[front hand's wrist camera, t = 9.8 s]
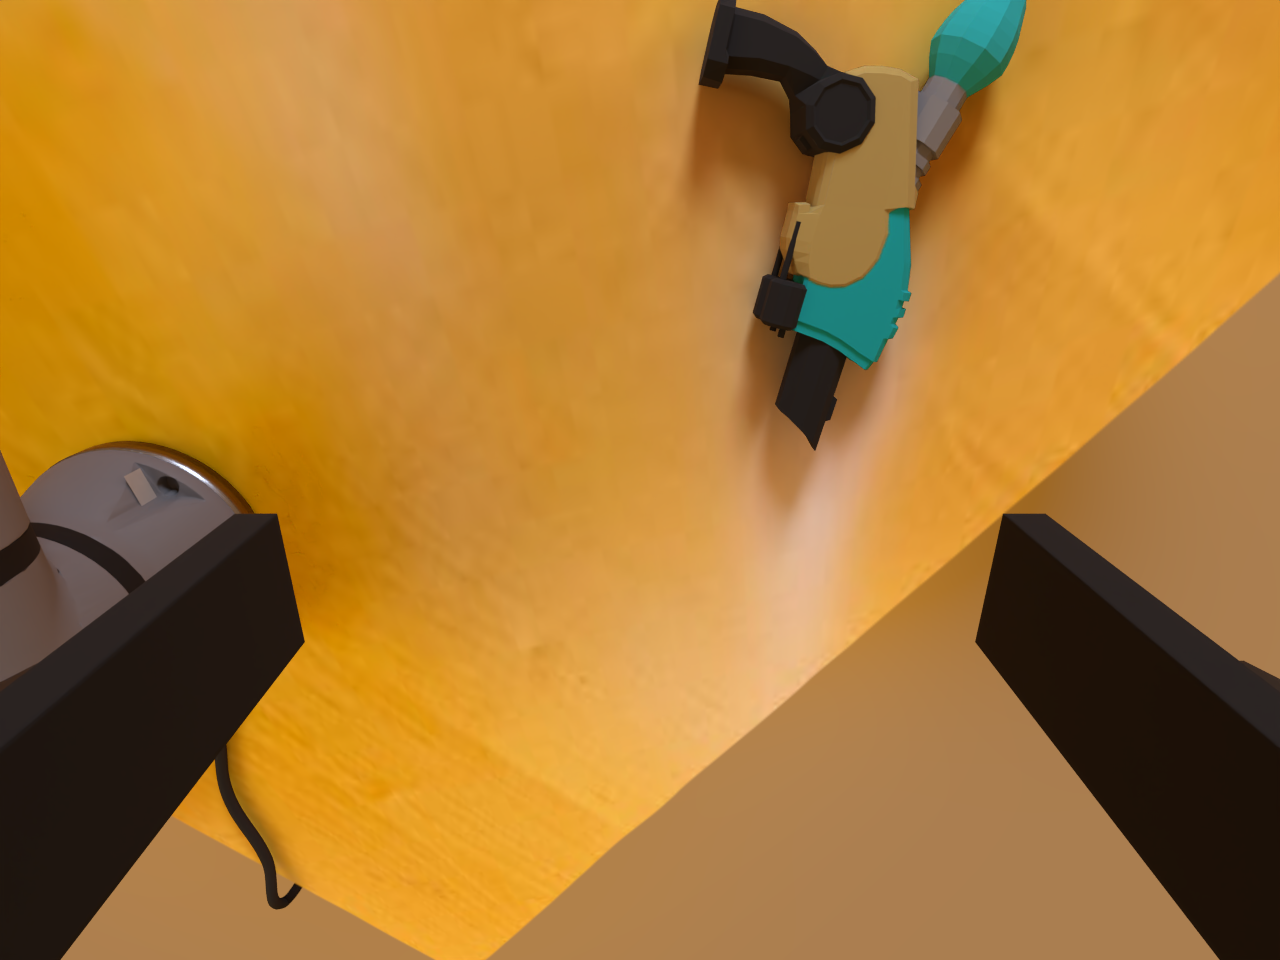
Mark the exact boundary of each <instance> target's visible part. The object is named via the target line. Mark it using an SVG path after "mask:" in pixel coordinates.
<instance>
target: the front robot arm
mask: <svg viewBox="0 0 1280 960" xmlns="http://www.w3.org/2000/svg"><path fill="white" fill-rule="evenodd" d="M304 642H305V641H304V636H303V632H302V627H301V623H300V618H299V613H298V609H297V604H296V599H295V595H294V590H293V586H292V581H291V576H290V572H289V567H288V562H287V558H286V553H285V549H284V544H283V539H282V535H281V530H280V526H279V521H278V516H277V514H254V512H253V511H252V509H251V507H250V506H249V505H248V503H247V502H246V501H245V499H244V498H243V497H242V496H241V495H240V493H239V492H238V491H237V490H236V489H235V488H234V487H233V486H232V485H231V484H230V483H229V482H228V481H226V480H225V479H224V478H223V477H222V476H220V475H219V474H218V473H217V472H215V471H214V470H212V469H211V468H210V467H208V466H206V465H205V464H203V463H201V462H200V461H198V460H196V459H194V458H192V457H190V456H188V455H186V454H184V453H181V452H179V451H176V450H173V449H170V448H167V447H164V446H160V445H156V444H151V443H144V442H133V441H121V442H111V443H104V444H100V445H96V446H93V447H91V448H88V449H85V450H83V451H81V452H78V453H76V454H74V455H72V456H69V457H67V458H65V459H63V460H61V461H59V462H58V463H56V464H55V465H53V466H52V467H50V468H49V469H48V470H47V471H46V472H44V473H43V474H42V475H41V476H40V477H39V478H38V479H37V480H36V481H35V482H34V483H33V484H32V485H31V486H30V487H29V488H28V489H27V491H26V492H25V493H24V494H23V495H22V496H21V497H20V496H19V494H18V492H17V489H16V487H15V484H14V482H13V480H12V477H11V475H10V473H9V470H8V468H7V465H6V463H5V461H4V458H3V456H2V453H1V451H0V960H61V958H62V957H63V956H64V954H65V953H66V952H67V950H68V949H69V948H70V947H71V945H72V944H73V943H74V941H75V940H76V939H77V937H78V936H79V935H80V934H81V932H82V931H83V930H84V928H85V927H86V926H87V924H88V923H89V922H90V921H91V919H92V918H93V917H94V915H95V914H96V913H97V911H98V910H99V909H100V908H101V906H102V905H103V904H104V902H105V901H106V900H107V898H108V897H109V896H110V895H111V893H112V892H113V891H114V889H115V888H116V887H117V885H118V884H119V883H120V882H121V880H122V879H123V878H124V876H125V875H126V874H127V872H128V871H129V870H130V869H131V867H132V866H133V865H134V863H135V862H136V861H137V859H138V858H139V857H140V856H141V854H142V853H143V852H144V850H145V849H146V848H147V846H148V845H149V844H150V842H151V841H152V840H153V839H154V837H155V836H156V835H157V833H158V832H159V831H160V829H161V828H162V827H163V826H164V824H165V823H166V822H167V820H168V819H169V818H170V817H171V815H172V814H173V813H174V811H175V810H176V809H177V807H178V806H179V805H180V804H181V802H182V801H183V800H184V798H185V797H186V796H187V794H188V793H189V792H190V791H191V789H192V788H193V787H194V785H195V784H196V783H197V781H198V780H199V779H200V777H201V776H202V775H203V774H204V772H205V771H206V770H207V768H208V767H209V766H210V764H211V763H212V762H213V761H214V759H215V766H216V775H217V781H218V786H219V789H220V793H221V796H222V798H223V801H224V803H225V805H226V807H227V809H228V811H229V813H230V815H231V816H232V818H233V820H234V821H235V823H236V824H237V826H238V827H239V828H240V830H241V831H242V833H243V834H244V835H245V837H246V838H247V839H248V841H249V842H250V844H251V845H252V847H253V848H254V850H255V852H256V853H257V855H258V857H259V859H260V861H261V863H262V865H263V868H264V873H265V881H266V894H267V901H268V904H269V905H270V906H271V907H272V908H273V909H282V908H284V907H286V906H288V905H289V904H290V903H291V902H292V901H293V900H294V899H295V897H296V896H297V895H298V893H299V892H300V890H301V889H302V887H301V886H299V885H298V884H296V883H294V884H293V886H292V887H291V889H290V890H289V892H288V893H287V894H286V895H285V896H284V897H282V898H279V896H278V893H277V879H276V870H275V864H274V861H273V858H272V855H271V853H270V851H269V849H268V847H267V845H266V844H265V842H264V840H263V839H262V837H261V836H260V834H259V833H258V831H257V830H256V828H255V827H254V826H253V824H252V823H251V821H250V820H249V819H248V817H247V816H246V814H245V813H244V811H243V809H242V808H241V806H240V804H239V802H238V800H237V798H236V796H235V794H234V791H233V788H232V785H231V782H230V777H229V772H228V762H227V748H226V744H227V742H228V741H229V740H230V738H231V737H232V736H233V735H234V733H235V732H236V731H237V729H238V728H239V727H240V725H241V724H242V723H243V722H244V720H245V719H246V718H247V716H248V715H249V714H250V712H251V711H252V710H253V709H254V707H255V706H256V705H257V703H258V702H259V701H260V699H261V698H262V697H263V696H264V694H265V693H266V692H267V690H268V689H269V688H270V686H271V685H272V684H273V683H274V681H275V680H276V679H277V677H278V676H279V675H280V673H281V672H282V671H283V670H284V668H285V667H286V666H287V664H288V663H289V662H290V660H291V659H292V658H293V657H294V655H295V654H296V653H297V651H298V650H299V649H300V647H301V646H302V645H303V644H304ZM975 642H976V643H977V645H978V646H979V647H980V649H981V650H982V651H983V653H984V654H985V655H986V657H987V658H988V659H989V660H990V662H991V663H992V664H993V666H994V667H995V668H996V670H997V671H998V672H999V673H1000V675H1001V676H1002V677H1003V679H1004V680H1005V681H1006V683H1007V684H1008V685H1009V686H1010V688H1011V689H1012V690H1013V692H1014V693H1015V694H1016V696H1017V697H1018V698H1019V699H1020V701H1021V702H1022V703H1023V705H1024V706H1025V707H1026V709H1027V710H1028V711H1029V712H1030V714H1031V715H1032V716H1033V718H1034V719H1035V720H1036V722H1037V723H1038V724H1039V725H1040V727H1041V728H1042V729H1043V731H1044V732H1045V733H1046V735H1047V736H1048V737H1049V738H1050V740H1051V741H1052V742H1053V744H1054V745H1055V746H1056V748H1057V749H1058V750H1059V751H1060V753H1061V754H1062V755H1063V757H1064V758H1065V759H1066V760H1067V762H1068V763H1069V764H1070V766H1071V767H1072V768H1073V770H1074V771H1075V772H1076V774H1077V775H1078V776H1079V777H1080V779H1081V780H1082V781H1083V783H1084V784H1085V785H1086V787H1087V788H1088V789H1089V791H1090V792H1091V793H1092V794H1093V796H1094V797H1095V798H1096V800H1097V801H1098V802H1099V804H1100V805H1101V806H1102V807H1103V809H1104V810H1105V811H1106V813H1107V814H1108V815H1109V817H1110V818H1111V819H1112V820H1113V822H1114V823H1115V824H1116V826H1117V827H1118V828H1119V829H1120V831H1121V832H1122V833H1123V835H1124V836H1125V837H1126V839H1127V840H1128V841H1129V843H1130V844H1131V845H1132V846H1133V848H1134V849H1135V850H1136V852H1137V853H1138V854H1139V856H1140V857H1141V858H1142V859H1143V861H1144V862H1145V863H1146V865H1147V866H1148V867H1149V869H1150V870H1151V871H1152V872H1153V874H1154V875H1155V876H1156V878H1157V879H1158V880H1159V882H1160V883H1161V884H1162V885H1163V887H1164V888H1165V889H1166V891H1167V892H1168V893H1169V895H1170V896H1171V897H1172V898H1173V900H1174V901H1175V902H1176V904H1177V905H1178V906H1179V908H1180V909H1181V910H1182V911H1183V913H1184V914H1185V915H1186V917H1187V918H1188V919H1189V921H1190V922H1191V923H1192V924H1193V926H1194V927H1195V928H1196V930H1197V931H1198V932H1199V934H1200V935H1201V936H1202V937H1203V939H1204V940H1205V941H1206V943H1207V944H1208V945H1209V947H1210V948H1211V949H1212V950H1213V952H1214V953H1215V954H1216V956H1217V957H1218V958H1219V959H1220V960H1280V679H1279V678H1277V677H1275V676H1273V675H1271V674H1269V673H1267V672H1265V671H1263V670H1261V669H1259V668H1257V667H1255V666H1253V665H1251V664H1249V663H1247V662H1245V661H1239V660H1237V659H1236V658H1235V657H1233V656H1232V655H1231V654H1229V653H1228V652H1227V651H1225V650H1224V649H1223V648H1221V647H1220V646H1219V645H1218V644H1216V643H1215V642H1214V641H1212V640H1211V639H1210V638H1208V637H1207V636H1206V635H1204V634H1203V633H1202V632H1200V631H1199V630H1198V629H1196V628H1195V627H1194V626H1192V625H1191V624H1190V623H1189V622H1187V621H1186V620H1185V619H1183V618H1182V617H1181V616H1179V615H1178V614H1177V613H1175V612H1174V611H1173V610H1171V609H1170V608H1169V607H1167V606H1166V605H1165V604H1164V603H1162V602H1161V601H1160V600H1158V599H1157V598H1156V597H1154V596H1153V595H1152V594H1150V593H1149V592H1148V591H1146V590H1145V589H1144V588H1142V587H1141V586H1140V585H1139V584H1137V583H1136V582H1135V581H1133V580H1132V579H1131V578H1129V577H1128V576H1127V575H1125V574H1124V573H1123V572H1121V571H1120V570H1119V569H1117V568H1116V567H1115V566H1113V565H1112V564H1111V563H1110V562H1108V561H1107V560H1106V559H1104V558H1103V557H1102V556H1100V555H1099V554H1098V553H1096V552H1095V551H1094V550H1092V549H1091V548H1090V547H1088V546H1087V545H1086V544H1085V543H1083V542H1082V541H1081V540H1079V539H1078V538H1077V537H1075V536H1074V535H1073V534H1071V533H1070V532H1069V531H1067V530H1066V529H1065V528H1063V527H1062V526H1061V525H1060V524H1058V523H1057V522H1056V521H1054V520H1053V519H1052V518H1050V517H1049V516H1048V515H1046V514H1003V516H1002V521H1001V526H1000V530H999V535H998V539H997V544H996V549H995V553H994V558H993V562H992V567H991V572H990V576H989V581H988V586H987V590H986V595H985V599H984V604H983V609H982V613H981V618H980V623H979V627H978V632H977V637H976V641H975Z"/></svg>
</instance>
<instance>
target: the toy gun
mask: <svg viewBox="0 0 1280 960" xmlns="http://www.w3.org/2000/svg"><path fill="white" fill-rule="evenodd" d="M1025 10H1026V0H965V1H964V2H963V3H961V4H960V5H959V6H958V7H957V8H956V9H955V10H954V11H953V12H952V13H951V14H950V15H949V16H948V18H947V19H946V20H945V21H944V22H943V24H942V25H941V26H940V28H939V29H938V31H937V32H936V34H935V35H934V37H933V39H932V40H931V47H930V55H929V79H928V81H927V82H926V84H925V86H924V87H923V89H922V91H921V92H920V91H918V82H919V79H917V78H916V77H914V76H912V75H910V74H908V73H907V72H905V71H903V70H901V69H897V68H891V67H885V66H862V67H859V68H856V69H853V70H850V71H847V72H845V73H843V72H840V71H838V70H835V69H833V68H831V67H829V66H827V65H826V64H825V62H824V61H823V60H822V58H821V57H820V56H819V54H818V53H817V52H816V50H815V49H814V48H813V47H812V46H811V45H810V44H809V43H808V42H807V41H806V40H805V39H804V38H803V37H802V36H801V35H800V34H799V33H798V32H796V31H794V30H792V29H790V28H789V27H787V26H785V25H783V24H781V23H779V22H777V21H775V20H774V19H772V18H770V17H768V16H766V15H764V14H760V13H756V12H753V11H749V10H745V9H741V8H737V7H736V0H718V3H717V5H716V9H715V13H714V17H713V21H712V25H711V29H710V34H709V38H708V43H707V47H706V52H705V56H704V60H703V65H702V69H701V74H700V80H699V85H703V86H708V87H713V88H719V86H720V85H721V83H722V81H723V78H724V74H733V75H748V76H755V77H760V78H765V79H770V80H775V81H779V82H780V83H781V85H782V87H783V89H784V91H785V93H786V95H787V97H788V99H789V104H790V129H791V139H792V140H793V141H794V143H795V144H796V146H797V147H798V148H799V150H800V151H801V152H802V154H804V155H808V156H812V157H814V161H813V166H812V171H811V175H810V180H809V185H808V190H807V195H806V200H805V202H792V203H788V209H787V213H786V217H785V221H784V224H783V228H782V232H781V235H780V247H779V250H778V254H777V257H776V261H775V265H774V268H773V272H772V275H769V274H767V275H765V276H763V278H762V281H761V285H760V289H759V292H758V296H757V299H756V303H755V307H754V310H753V314H754V315H755V316H756V318H758V319H760V320H761V321H762V322H763V323H764V324H765V325H768V326H771V327H770V330H772V331H776V328H778V329H779V332H778V337H781V338H784V335H785V331H786V330H794V331H797V334H796V337H795V341H794V344H793V347H792V350H791V354H790V357H789V360H788V364H787V367H786V370H785V374H784V377H783V380H782V383H781V387H780V390H779V393H778V397H777V400H776V403H775V405H776V406H777V407H778V409H779V410H780V411H781V412H782V413H783V414H785V415H786V416H787V417H788V418H789V419H790V420H791V421H792V422H793V423H794V424H795V425H796V426H797V427H798V428H799V429H800V430H801V431H802V432H803V433H804V434H805V435H806V437H807V439H808V441H809V443H810V445H811V446H812V448H813V449H814V450H816V447H817V444H818V441H819V438H820V435H821V432H822V429H823V426H824V423H825V421H828V420H830V419H831V416H832V413H833V410H834V407H835V404H836V401H837V399H836V398H835V397H834V393H835V390H836V387H837V384H838V381H839V378H840V375H841V372H842V369H843V366H844V363H845V360H846V357H847V358H848V359H850V360H852V361H854V362H855V363H857V364H858V365H859V366H860V367H862V368H863V369H864V370H867V369H868V368H869V367H870V366H871V364H872V363H873V362H877V361H878V359H879V357H880V355H881V352H882V350H883V348H884V346H885V344H886V342H887V340H888V339H892V338H893V337H894V335H895V333H896V331H897V330H898V326H897V325H896V324H895V323H896V321H897V319H898V318H902V317H903V316H904V313H905V310H906V309H905V308H902V306H903V303H904V301H909V299H910V296H911V293H910V292H909V291H908V284H909V277H910V269H911V251H910V221H909V210H913V209H915V205H916V201H917V197H918V190H919V188H920V187H921V183H920V181H919V178H920V176H925V175H926V173H927V172H928V170H929V169H930V164H929V161H930V160H935V159H938V158H939V156H940V155H941V153H942V151H943V150H944V148H945V147H946V145H947V143H948V142H949V140H950V139H951V137H952V135H953V134H954V132H955V131H956V129H957V127H958V126H959V124H960V123H961V121H962V118H961V114H960V112H959V110H960V108H961V107H962V105H963V103H964V102H965V100H966V99H967V97H969V96H971V95H972V94H974V93H976V92H977V91H979V90H981V89H983V88H984V87H986V86H988V85H989V84H991V83H992V82H993V81H995V80H996V79H997V78H999V77H1000V76H1002V74H1003V72H1004V71H1005V69H1006V67H1007V66H1008V64H1009V62H1010V60H1011V57H1012V55H1013V53H1014V51H1015V48H1016V45H1017V42H1018V39H1019V35H1020V31H1021V27H1022V22H1023V18H1024V14H1025ZM783 258H784V265H783V268H782V272H781V275H780V277H779V276H778V273H779V270H780V266H781V263H782V259H783ZM788 273H790V274H793V275H794V276H793V280H790V279H787V274H788Z"/></svg>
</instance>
